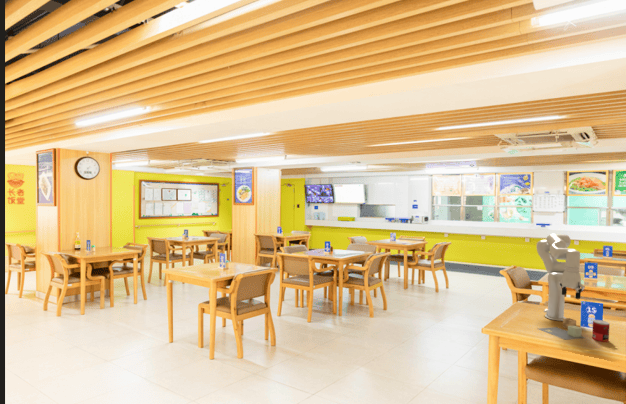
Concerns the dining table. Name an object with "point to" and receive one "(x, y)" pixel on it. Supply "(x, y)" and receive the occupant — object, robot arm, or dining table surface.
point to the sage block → (575, 331)
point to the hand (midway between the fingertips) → (570, 296)
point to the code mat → (559, 333)
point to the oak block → (568, 322)
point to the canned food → (600, 330)
